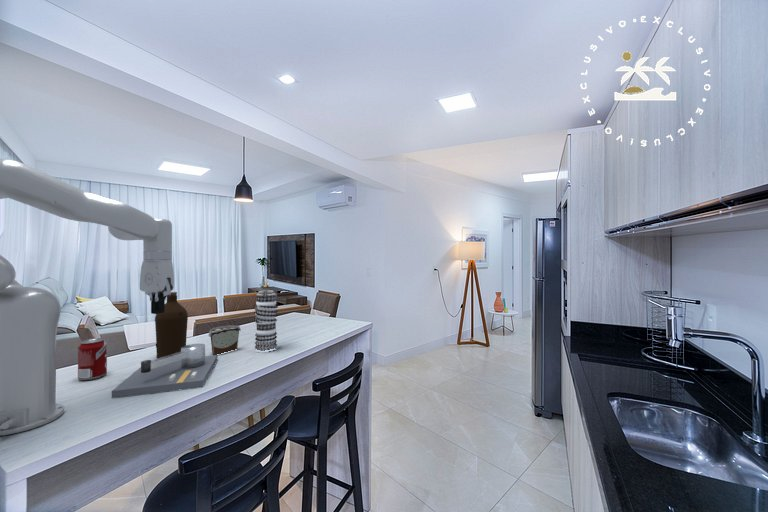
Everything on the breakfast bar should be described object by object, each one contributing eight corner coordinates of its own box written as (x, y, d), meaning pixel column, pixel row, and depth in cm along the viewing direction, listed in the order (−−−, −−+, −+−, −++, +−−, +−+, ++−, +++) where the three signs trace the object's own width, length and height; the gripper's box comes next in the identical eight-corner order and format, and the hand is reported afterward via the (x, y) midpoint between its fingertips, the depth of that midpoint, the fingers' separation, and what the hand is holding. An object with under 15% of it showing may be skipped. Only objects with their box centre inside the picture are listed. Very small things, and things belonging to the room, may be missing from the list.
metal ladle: (195, 359, 109) (195, 342, 109) (209, 361, 106) (209, 344, 106) (133, 380, 90) (133, 360, 90) (149, 383, 88) (149, 363, 88)
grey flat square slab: (202, 386, 91) (202, 376, 91) (111, 398, 84) (111, 387, 84) (217, 360, 115) (217, 352, 115) (147, 367, 107) (147, 358, 107)
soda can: (88, 382, 94) (89, 343, 94) (71, 380, 95) (72, 342, 95) (112, 374, 101) (112, 338, 101) (96, 372, 102) (96, 337, 102)
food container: (233, 346, 132) (233, 323, 132) (240, 349, 128) (240, 325, 128) (202, 354, 122) (202, 329, 122) (209, 357, 118) (210, 331, 118)
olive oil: (192, 350, 126) (192, 290, 126) (179, 359, 115) (180, 293, 116) (163, 352, 124) (164, 291, 124) (148, 361, 114) (149, 294, 114)
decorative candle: (282, 348, 130) (282, 289, 130) (265, 354, 122) (266, 292, 122) (266, 345, 134) (266, 288, 134) (249, 351, 126) (249, 291, 126)
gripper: (130, 256, 98) (129, 313, 98) (161, 257, 93) (161, 317, 93) (154, 256, 105) (154, 309, 105) (185, 256, 100) (185, 312, 100)
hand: (157, 313), depth 99 cm, fingers closed
